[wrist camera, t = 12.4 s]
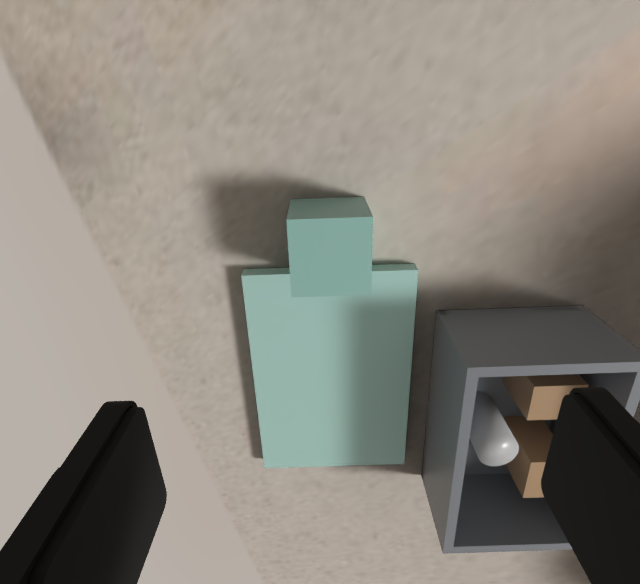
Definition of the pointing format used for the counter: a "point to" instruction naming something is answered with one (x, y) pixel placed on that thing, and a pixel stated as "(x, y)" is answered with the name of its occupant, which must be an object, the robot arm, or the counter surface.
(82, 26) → the counter surface
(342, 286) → the mint slab with cube
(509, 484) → the tub
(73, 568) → the robot arm
